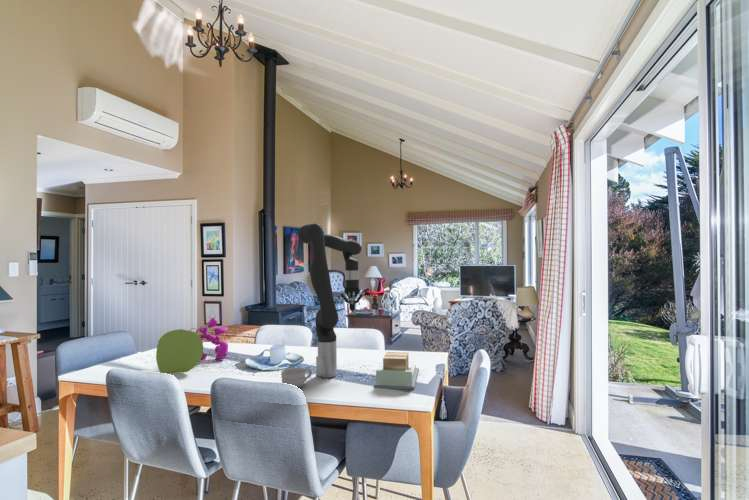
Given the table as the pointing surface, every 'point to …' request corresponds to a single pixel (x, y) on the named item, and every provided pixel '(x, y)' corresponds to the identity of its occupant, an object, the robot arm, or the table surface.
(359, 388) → the table surface
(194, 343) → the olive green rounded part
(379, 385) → the roller track
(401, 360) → the wood grain cube
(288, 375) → the teacup
